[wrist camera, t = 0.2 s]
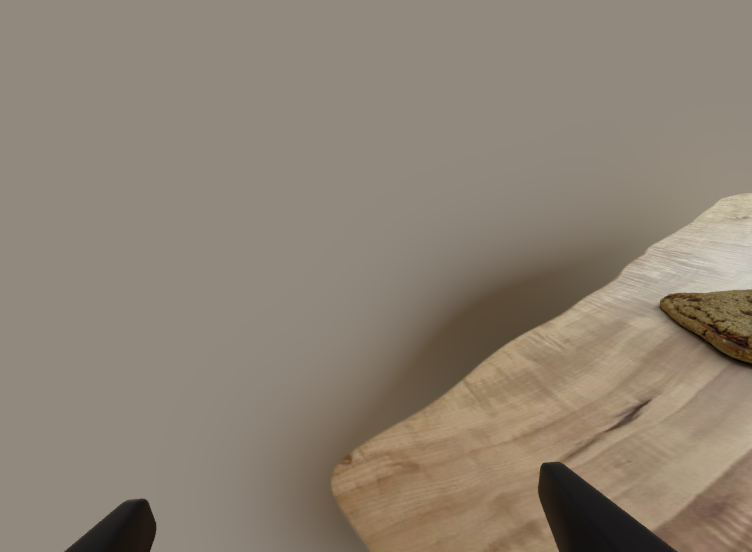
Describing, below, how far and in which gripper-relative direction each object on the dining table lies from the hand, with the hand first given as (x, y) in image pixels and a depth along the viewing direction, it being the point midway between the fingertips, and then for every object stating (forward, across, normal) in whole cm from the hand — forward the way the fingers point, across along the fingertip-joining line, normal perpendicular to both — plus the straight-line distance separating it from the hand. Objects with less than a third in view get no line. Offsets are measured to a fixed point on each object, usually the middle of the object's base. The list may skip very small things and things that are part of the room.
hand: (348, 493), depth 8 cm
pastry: (+26, -41, +14) cm, 50 cm away
